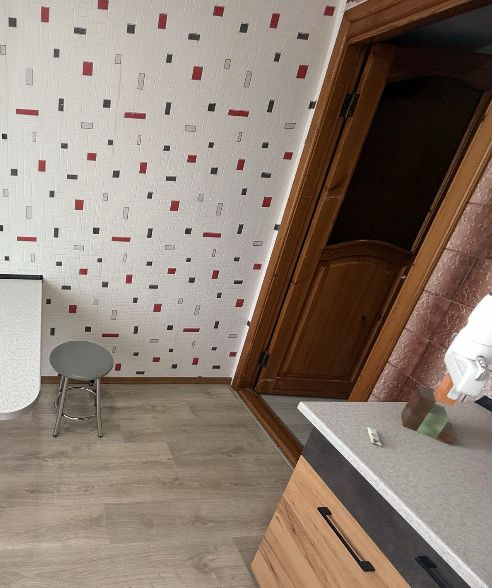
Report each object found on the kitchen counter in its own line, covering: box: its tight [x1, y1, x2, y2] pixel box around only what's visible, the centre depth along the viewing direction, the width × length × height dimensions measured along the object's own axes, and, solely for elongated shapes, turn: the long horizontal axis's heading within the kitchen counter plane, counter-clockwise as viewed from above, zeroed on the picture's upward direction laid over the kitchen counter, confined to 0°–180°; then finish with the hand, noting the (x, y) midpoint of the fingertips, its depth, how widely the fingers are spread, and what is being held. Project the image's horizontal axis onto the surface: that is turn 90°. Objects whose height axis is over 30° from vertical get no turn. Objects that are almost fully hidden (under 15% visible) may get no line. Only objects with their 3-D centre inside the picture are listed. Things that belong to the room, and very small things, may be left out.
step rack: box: [400, 384, 457, 446], centre depth 94 cm, size 10×7×11 cm
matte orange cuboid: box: [434, 372, 461, 407], centre depth 90 cm, size 3×5×7 cm, turn 140°
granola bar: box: [366, 426, 382, 447], centre depth 91 cm, size 7×2×1 cm, turn 150°
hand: (448, 391), depth 91 cm, fingers closed on matte orange cuboid, 5 cm apart
